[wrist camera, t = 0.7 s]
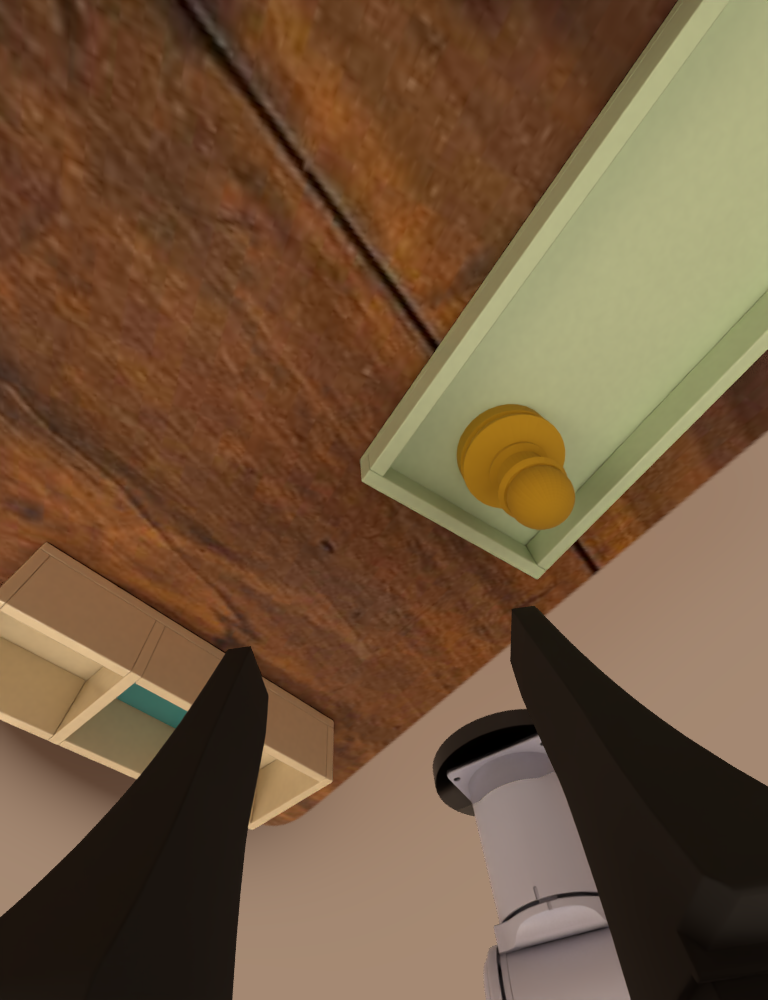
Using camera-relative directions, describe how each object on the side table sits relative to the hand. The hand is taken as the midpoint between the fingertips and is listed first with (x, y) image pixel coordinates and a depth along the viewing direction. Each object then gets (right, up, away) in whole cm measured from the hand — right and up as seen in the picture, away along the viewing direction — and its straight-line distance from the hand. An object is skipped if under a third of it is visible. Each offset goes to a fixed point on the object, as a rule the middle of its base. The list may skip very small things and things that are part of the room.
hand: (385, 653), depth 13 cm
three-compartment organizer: (-11, -5, +11) cm, 17 cm away
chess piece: (+5, +6, +6) cm, 10 cm away
